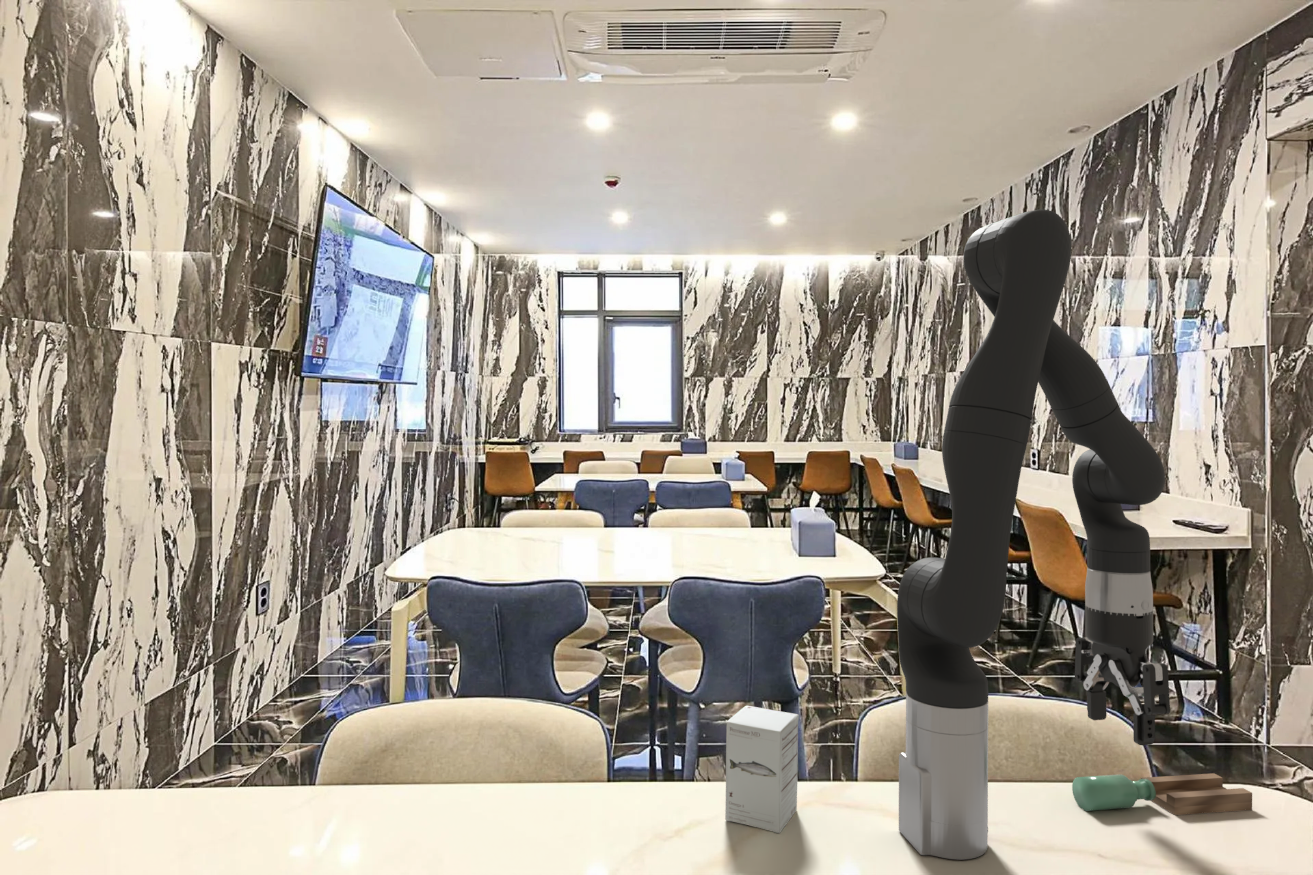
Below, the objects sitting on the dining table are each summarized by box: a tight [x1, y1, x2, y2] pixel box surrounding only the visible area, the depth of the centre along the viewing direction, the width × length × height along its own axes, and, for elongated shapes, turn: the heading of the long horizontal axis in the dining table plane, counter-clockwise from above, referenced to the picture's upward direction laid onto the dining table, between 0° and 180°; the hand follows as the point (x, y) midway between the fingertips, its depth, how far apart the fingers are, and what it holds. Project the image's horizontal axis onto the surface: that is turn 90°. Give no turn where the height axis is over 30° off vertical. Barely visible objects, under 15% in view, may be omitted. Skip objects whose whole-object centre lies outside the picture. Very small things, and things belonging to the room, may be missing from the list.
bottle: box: [1071, 774, 1156, 812], centre depth 105 cm, size 9×4×4 cm
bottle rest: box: [1140, 772, 1253, 816], centre depth 107 cm, size 11×6×2 cm, turn 98°
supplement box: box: [724, 705, 800, 834], centre depth 103 cm, size 7×7×13 cm
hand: (1119, 731), depth 104 cm, fingers open, 8 cm apart
